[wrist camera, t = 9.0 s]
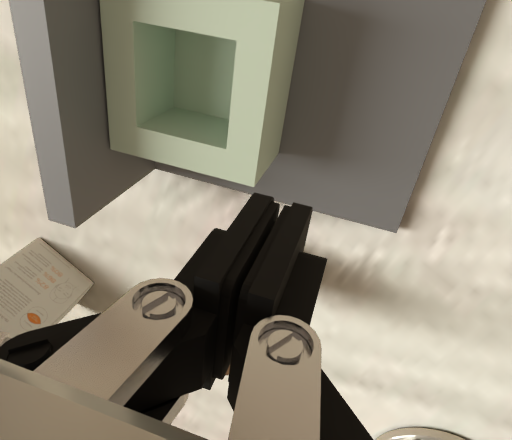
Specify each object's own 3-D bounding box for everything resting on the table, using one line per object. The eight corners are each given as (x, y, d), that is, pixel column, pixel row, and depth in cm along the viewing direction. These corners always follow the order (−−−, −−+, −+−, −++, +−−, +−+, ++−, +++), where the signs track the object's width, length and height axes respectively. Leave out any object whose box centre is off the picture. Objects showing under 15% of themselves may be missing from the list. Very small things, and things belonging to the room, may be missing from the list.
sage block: (304, -1, 24) (280, 3, 19) (278, 153, 29) (253, 187, 24) (155, -26, 26) (97, -28, 21) (156, 123, 31) (110, 149, 26)
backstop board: (505, -57, 21) (585, -90, 12) (396, 226, 31) (395, 327, 22) (132, -105, 25) (-20, -156, 16) (140, 158, 35) (48, 220, 26)
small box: (24, 260, 47) (-62, 322, 38) (39, 235, 44) (-49, 296, 35) (77, 304, 48) (6, 375, 39) (96, 283, 45) (23, 354, 36)
